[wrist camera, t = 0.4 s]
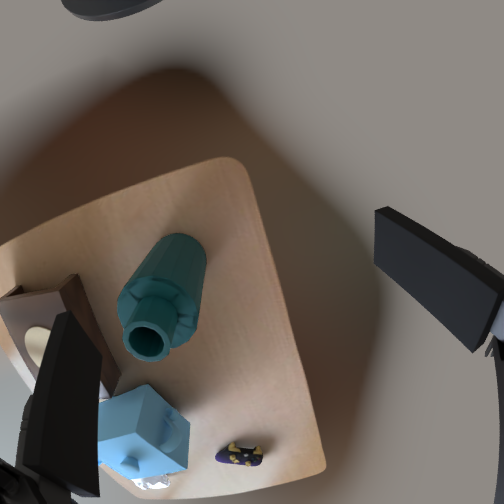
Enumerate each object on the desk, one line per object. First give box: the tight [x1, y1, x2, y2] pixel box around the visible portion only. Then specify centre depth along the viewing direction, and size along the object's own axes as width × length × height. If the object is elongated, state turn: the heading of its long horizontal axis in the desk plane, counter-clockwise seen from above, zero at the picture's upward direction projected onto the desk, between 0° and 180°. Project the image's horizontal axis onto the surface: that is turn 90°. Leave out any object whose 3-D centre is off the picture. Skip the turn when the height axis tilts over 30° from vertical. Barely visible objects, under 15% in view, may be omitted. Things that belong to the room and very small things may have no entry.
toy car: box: [132, 474, 170, 490], centre depth 47 cm, size 6×12×7 cm, turn 29°
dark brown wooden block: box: [0, 273, 121, 399], centre depth 35 cm, size 18×14×6 cm
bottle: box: [117, 233, 207, 362], centre depth 28 cm, size 7×7×18 cm
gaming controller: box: [215, 443, 263, 466], centre depth 48 cm, size 10×5×6 cm
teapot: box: [98, 384, 190, 480], centre depth 37 cm, size 22×11×14 cm, turn 120°
